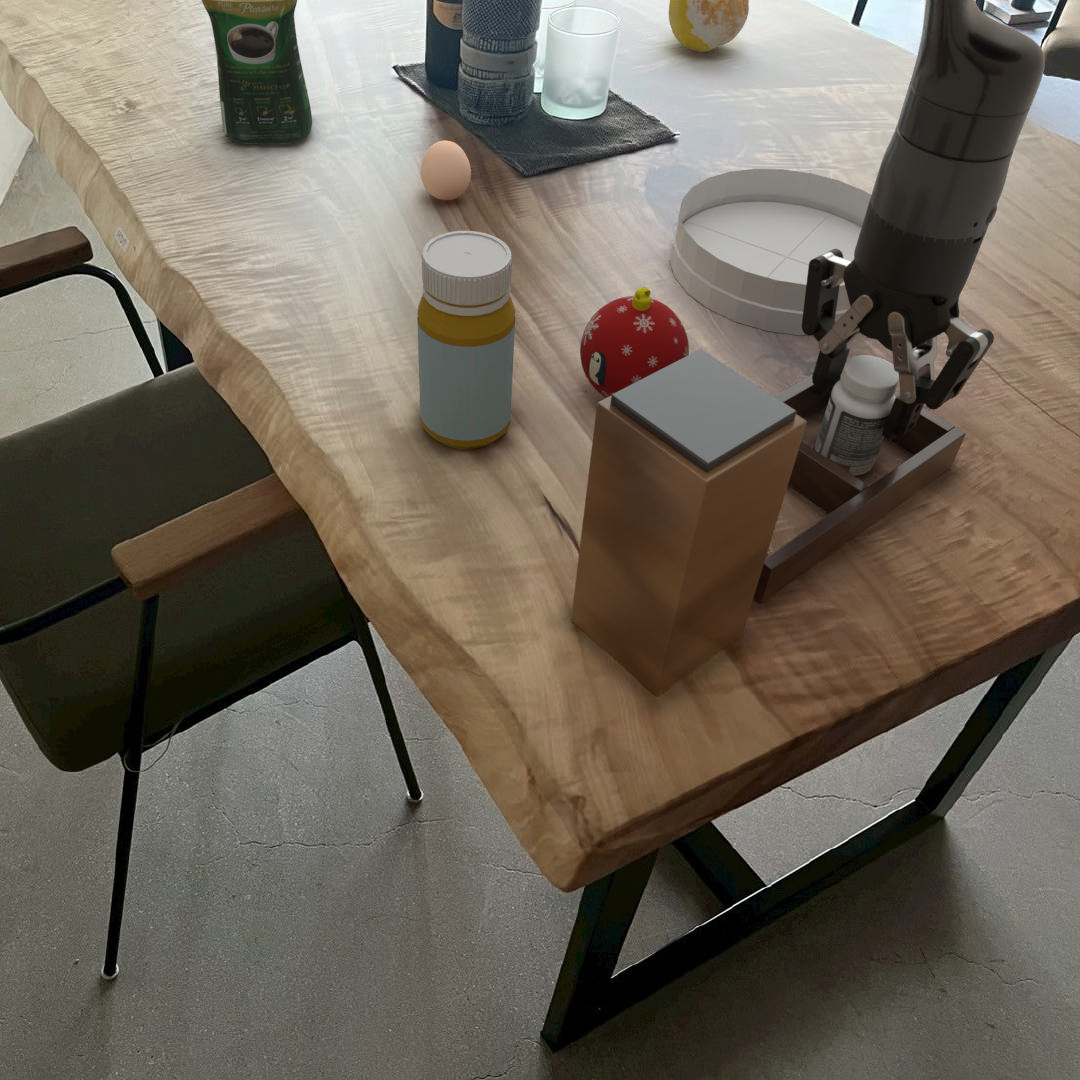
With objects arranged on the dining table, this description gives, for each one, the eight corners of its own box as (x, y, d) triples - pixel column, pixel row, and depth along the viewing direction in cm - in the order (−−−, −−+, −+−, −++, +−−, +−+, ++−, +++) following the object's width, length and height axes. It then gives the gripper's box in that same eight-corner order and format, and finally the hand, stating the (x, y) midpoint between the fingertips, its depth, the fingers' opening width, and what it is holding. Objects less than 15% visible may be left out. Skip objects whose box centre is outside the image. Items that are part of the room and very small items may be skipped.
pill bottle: (886, 466, 81) (920, 380, 75) (840, 485, 80) (871, 397, 74) (845, 431, 84) (875, 345, 78) (800, 448, 82) (827, 361, 76)
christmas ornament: (701, 403, 86) (723, 298, 79) (622, 441, 82) (638, 334, 75) (633, 352, 90) (648, 248, 83) (554, 385, 86) (563, 279, 79)
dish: (930, 260, 104) (946, 214, 101) (848, 365, 91) (864, 316, 87) (729, 192, 112) (738, 147, 108) (627, 279, 98) (633, 231, 95)
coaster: (794, 419, 56) (797, 410, 55) (706, 473, 52) (708, 464, 52) (698, 357, 59) (700, 348, 59) (610, 403, 56) (611, 394, 55)
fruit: (648, 48, 139) (658, -34, 132) (693, 29, 145) (705, -51, 138) (711, 71, 135) (726, -12, 128) (755, 50, 141) (771, -31, 134)
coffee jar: (314, 117, 119) (296, -65, 106) (311, 148, 114) (292, -39, 100) (227, 116, 118) (197, -67, 105) (220, 148, 112) (188, -42, 99)
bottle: (412, 403, 84) (405, 232, 73) (496, 391, 85) (502, 222, 75) (432, 459, 79) (428, 286, 68) (521, 445, 81) (530, 274, 70)
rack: (951, 467, 82) (966, 432, 79) (760, 605, 71) (771, 569, 68) (829, 391, 88) (840, 357, 85) (635, 507, 77) (641, 471, 74)
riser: (742, 635, 69) (808, 420, 56) (657, 697, 65) (706, 482, 52) (655, 565, 73) (698, 350, 60) (570, 619, 69) (596, 402, 56)
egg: (414, 189, 108) (412, 134, 104) (460, 183, 110) (460, 128, 106) (430, 213, 105) (429, 156, 101) (477, 205, 107) (478, 149, 103)
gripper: (805, 176, 69) (753, 384, 81) (998, 272, 61) (909, 484, 73) (874, 147, 72) (814, 350, 84) (1062, 234, 65) (968, 442, 77)
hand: (858, 411), depth 79 cm, fingers open, 5 cm apart
